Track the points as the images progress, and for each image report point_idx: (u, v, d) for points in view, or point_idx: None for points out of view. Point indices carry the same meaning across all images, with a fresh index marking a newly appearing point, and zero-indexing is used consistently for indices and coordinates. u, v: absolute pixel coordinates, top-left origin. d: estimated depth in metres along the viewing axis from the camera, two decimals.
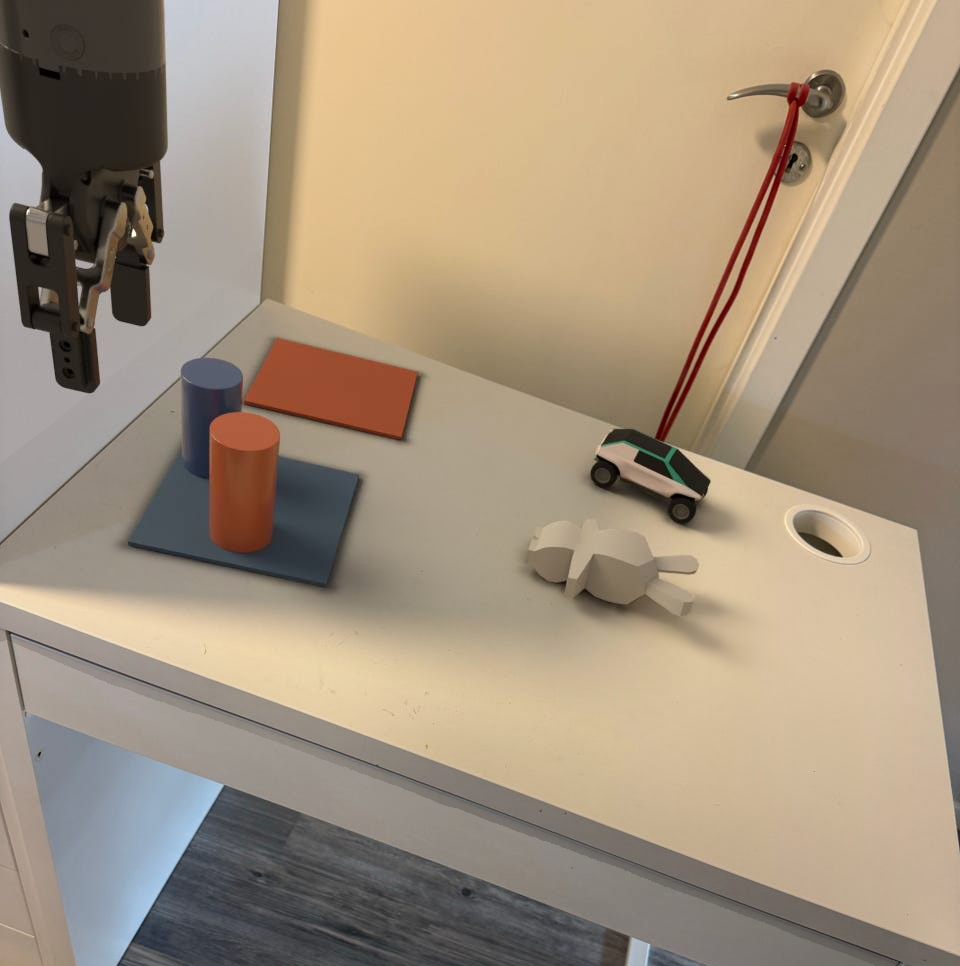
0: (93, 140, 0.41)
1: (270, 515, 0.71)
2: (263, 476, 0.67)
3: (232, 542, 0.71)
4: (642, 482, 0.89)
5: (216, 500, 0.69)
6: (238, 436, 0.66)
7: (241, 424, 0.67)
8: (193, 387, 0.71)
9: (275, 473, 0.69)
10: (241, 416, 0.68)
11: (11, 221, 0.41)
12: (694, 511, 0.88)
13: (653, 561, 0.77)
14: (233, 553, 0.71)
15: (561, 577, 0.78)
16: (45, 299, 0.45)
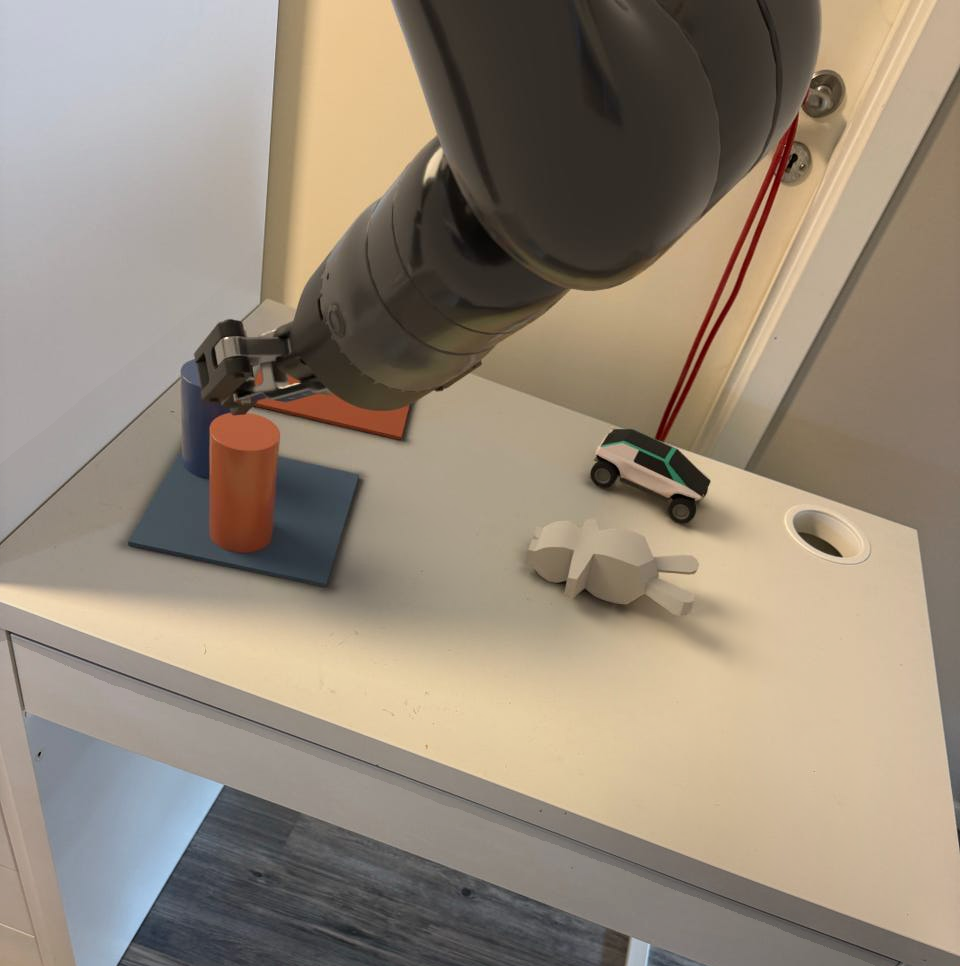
0: (317, 362, 0.40)
1: (270, 515, 0.71)
2: (263, 476, 0.67)
3: (232, 542, 0.71)
4: (642, 482, 0.89)
5: (216, 500, 0.69)
6: (238, 436, 0.66)
7: (241, 424, 0.67)
8: (193, 387, 0.71)
9: (275, 473, 0.69)
10: (241, 416, 0.68)
11: (217, 326, 0.41)
12: (694, 511, 0.88)
13: (653, 561, 0.77)
14: (233, 553, 0.71)
15: (561, 577, 0.78)
16: None
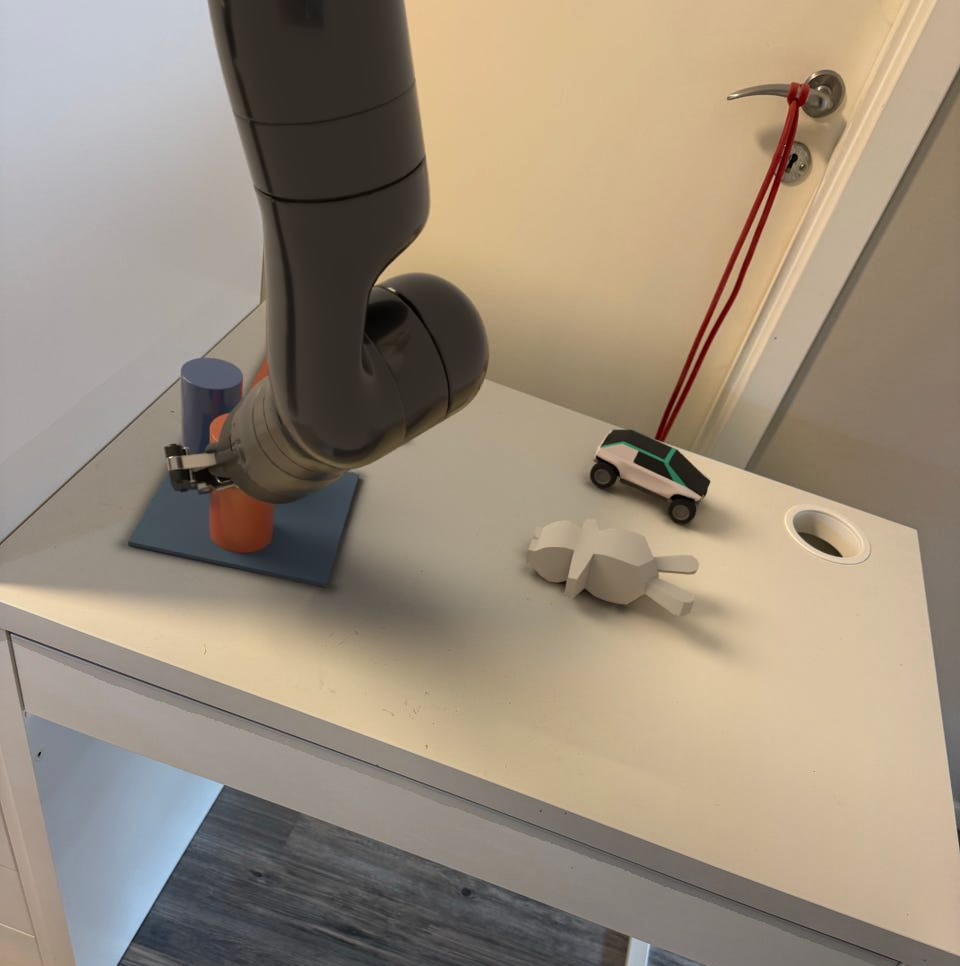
0: (232, 474, 0.58)
1: (270, 515, 0.71)
2: None
3: (232, 542, 0.71)
4: (642, 483, 0.89)
5: (216, 500, 0.69)
6: None
7: None
8: (193, 387, 0.71)
9: None
10: None
11: (164, 448, 0.60)
12: (694, 512, 0.88)
13: (653, 561, 0.77)
14: (233, 553, 0.71)
15: (561, 577, 0.78)
16: None
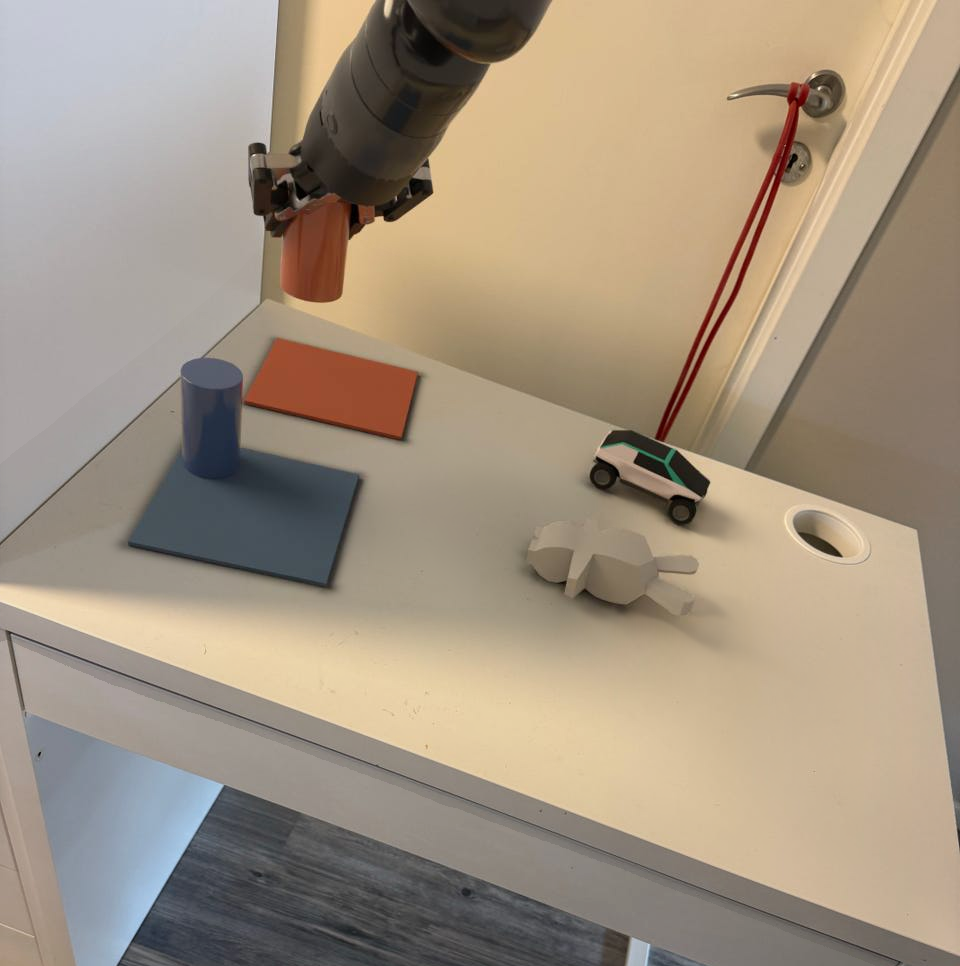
0: (319, 163, 0.58)
1: (342, 262, 0.71)
2: (339, 208, 0.67)
3: (304, 289, 0.71)
4: (642, 484, 0.89)
5: (290, 239, 0.69)
6: None
7: None
8: (193, 387, 0.71)
9: (350, 211, 0.69)
10: None
11: (248, 148, 0.60)
12: (694, 512, 0.88)
13: (653, 561, 0.77)
14: (233, 553, 0.71)
15: (561, 577, 0.78)
16: (276, 183, 0.65)
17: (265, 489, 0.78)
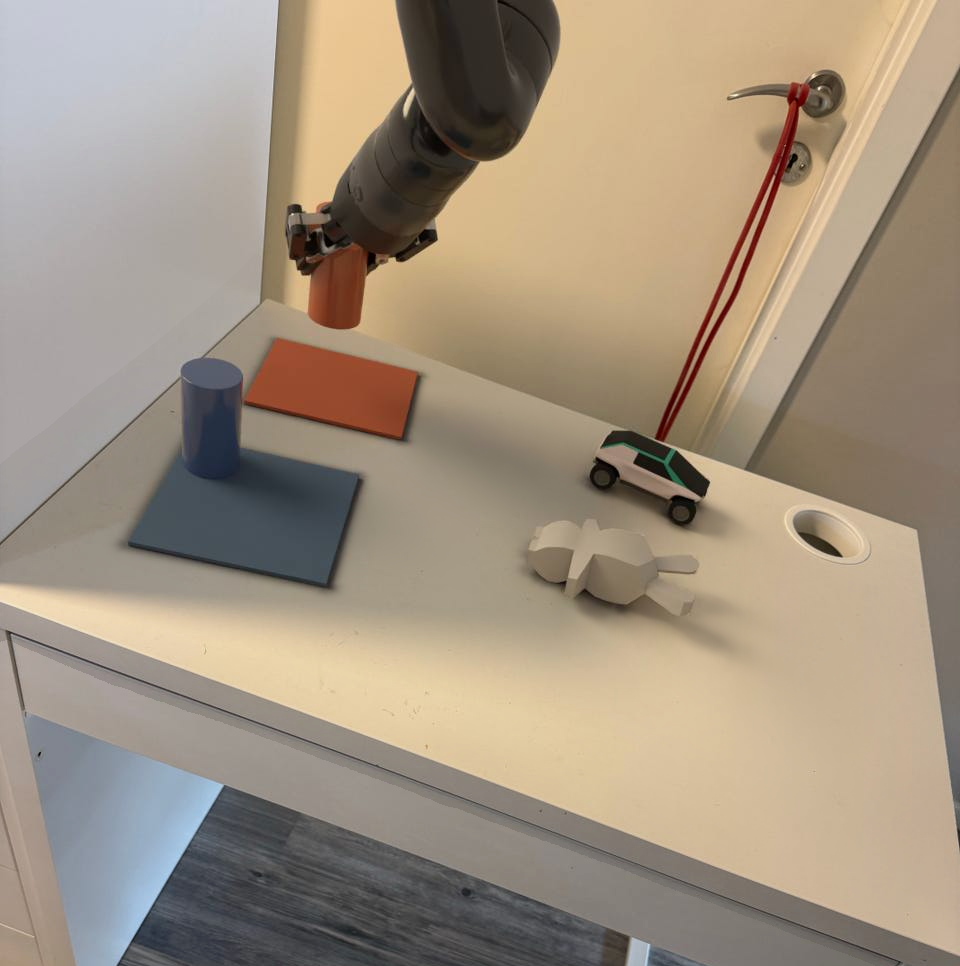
0: (346, 222, 0.71)
1: (361, 295, 0.84)
2: (359, 252, 0.81)
3: (329, 318, 0.84)
4: (642, 484, 0.89)
5: (318, 277, 0.82)
6: None
7: None
8: (193, 387, 0.71)
9: (367, 254, 0.82)
10: None
11: (287, 208, 0.73)
12: (694, 513, 0.88)
13: (653, 561, 0.77)
14: (233, 553, 0.71)
15: (561, 577, 0.78)
16: None
17: (265, 489, 0.78)
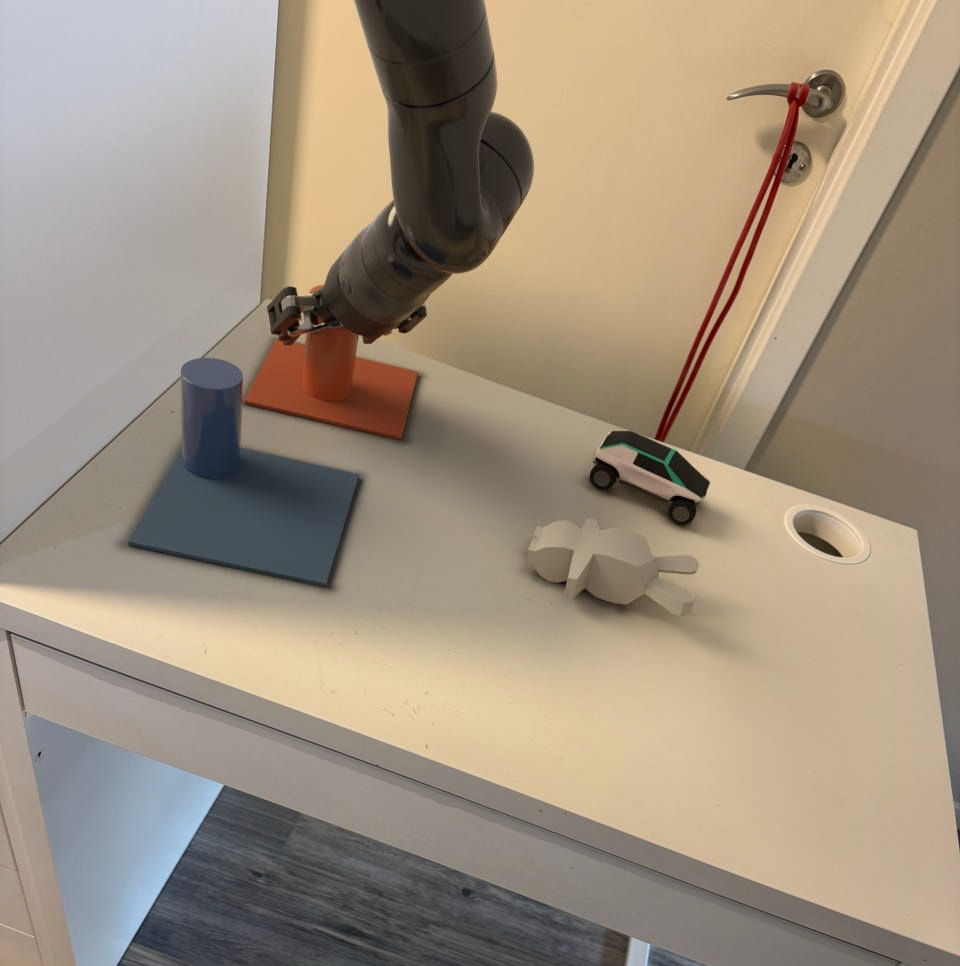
0: (336, 309, 0.76)
1: (352, 370, 0.90)
2: (350, 333, 0.86)
3: (322, 391, 0.90)
4: (642, 484, 0.89)
5: (311, 355, 0.88)
6: None
7: None
8: (193, 387, 0.71)
9: None
10: None
11: (283, 290, 0.78)
12: (694, 513, 0.88)
13: (653, 561, 0.77)
14: (233, 553, 0.71)
15: (561, 577, 0.78)
16: None
17: (265, 489, 0.78)
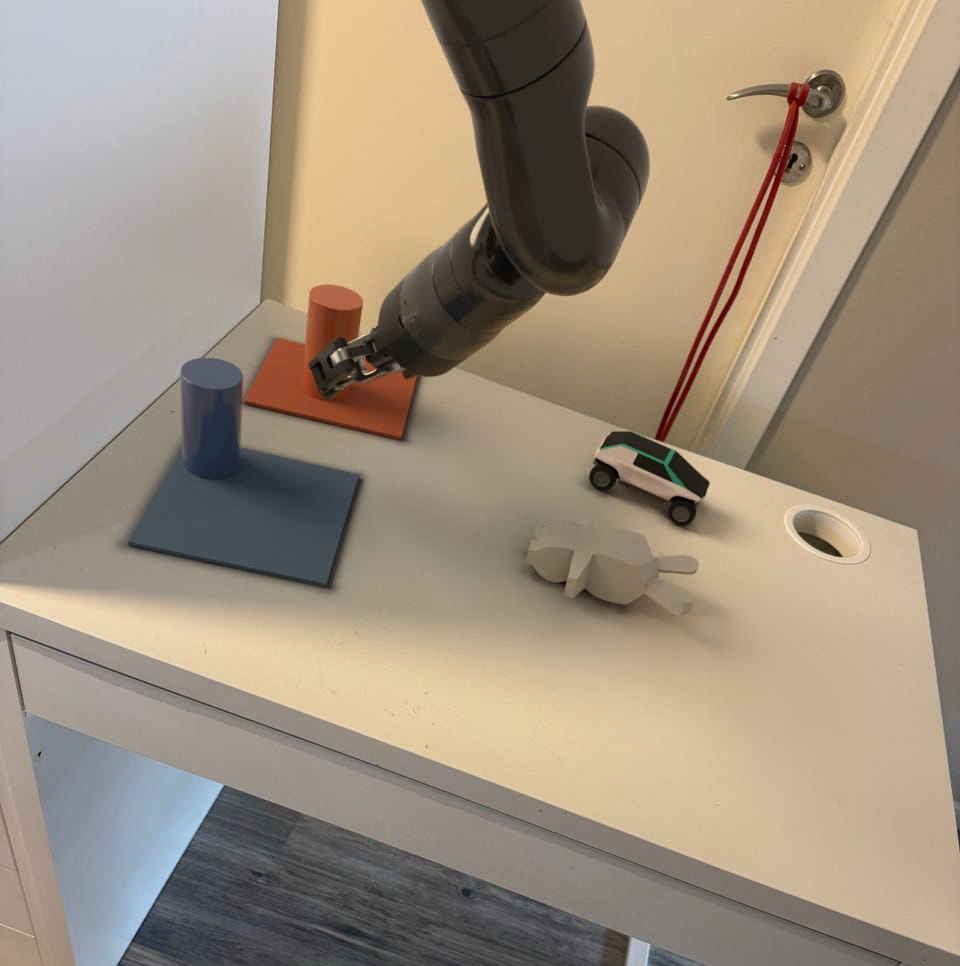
0: (398, 353, 0.67)
1: None
2: (350, 333, 0.86)
3: None
4: (641, 485, 0.89)
5: (311, 355, 0.88)
6: (331, 299, 0.85)
7: (332, 292, 0.86)
8: (193, 387, 0.71)
9: (358, 333, 0.87)
10: (332, 287, 0.87)
11: (332, 343, 0.68)
12: (694, 513, 0.88)
13: (653, 561, 0.77)
14: (233, 553, 0.71)
15: (561, 577, 0.78)
16: None
17: (265, 489, 0.78)
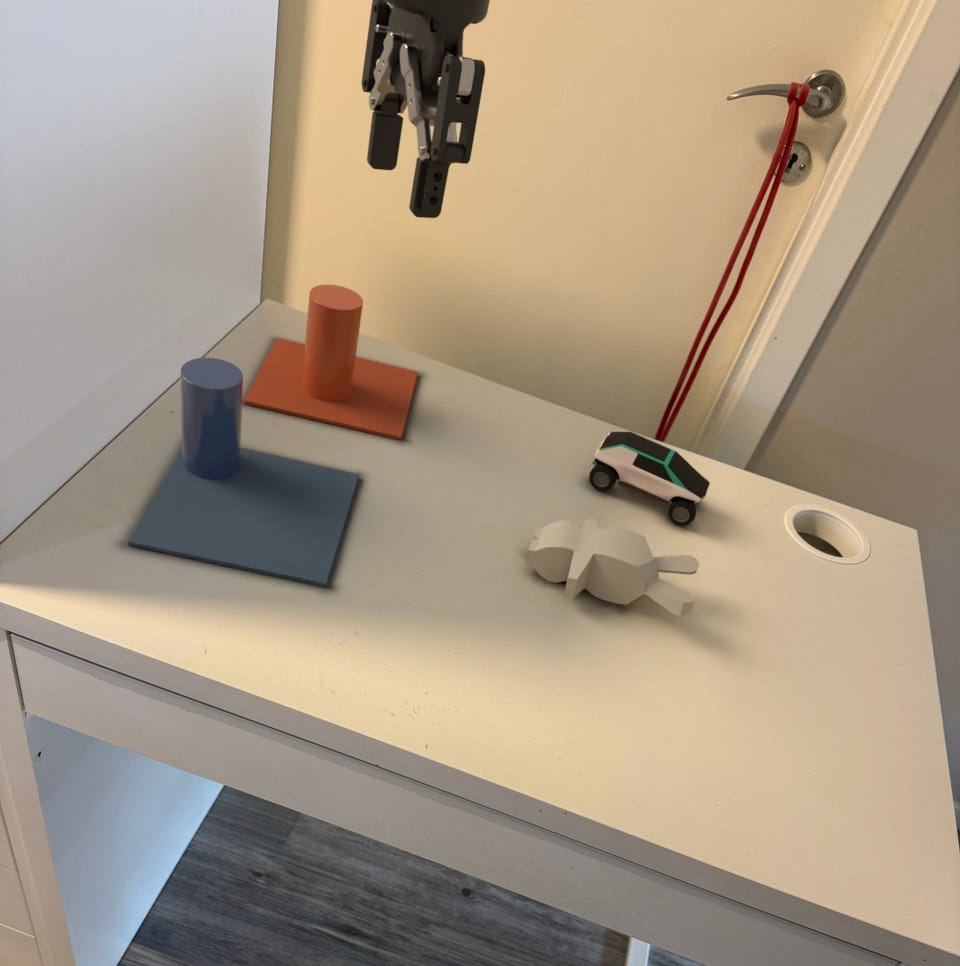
0: None
1: (352, 370, 0.90)
2: (350, 333, 0.86)
3: (322, 391, 0.90)
4: (641, 485, 0.89)
5: (311, 355, 0.88)
6: (331, 299, 0.85)
7: (332, 292, 0.86)
8: (193, 387, 0.71)
9: (358, 333, 0.87)
10: (332, 287, 0.87)
11: (451, 70, 0.54)
12: (694, 514, 0.88)
13: (653, 561, 0.77)
14: (233, 553, 0.71)
15: (561, 577, 0.78)
16: (428, 138, 0.58)
17: (265, 489, 0.78)
